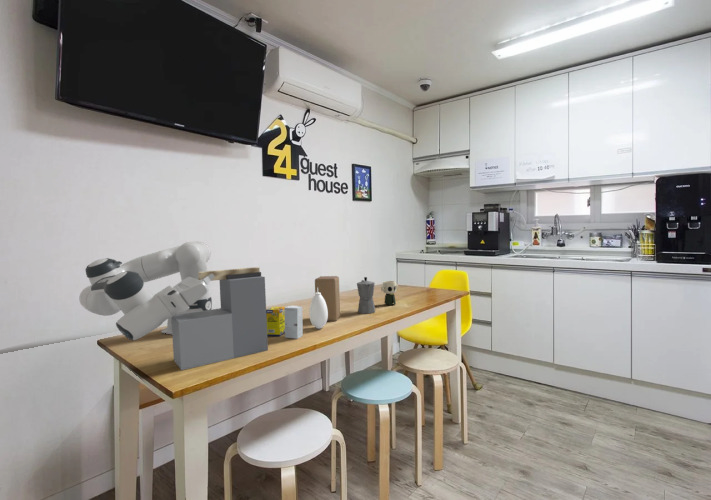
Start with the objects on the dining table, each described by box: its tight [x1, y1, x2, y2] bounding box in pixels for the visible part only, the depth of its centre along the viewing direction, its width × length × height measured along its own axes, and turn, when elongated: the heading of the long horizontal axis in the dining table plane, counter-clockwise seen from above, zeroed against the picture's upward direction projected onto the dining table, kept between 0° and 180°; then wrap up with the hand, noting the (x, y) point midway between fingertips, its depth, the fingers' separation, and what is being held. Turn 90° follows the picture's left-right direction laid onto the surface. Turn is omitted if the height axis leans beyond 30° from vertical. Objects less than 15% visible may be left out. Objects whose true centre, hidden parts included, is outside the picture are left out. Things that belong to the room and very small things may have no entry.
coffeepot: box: [356, 276, 376, 315], centre depth 184 cm, size 15×9×18 cm, turn 12°
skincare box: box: [284, 305, 304, 340], centre depth 142 cm, size 6×4×12 cm
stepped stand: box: [171, 271, 269, 371], centre depth 122 cm, size 28×12×28 cm, turn 127°
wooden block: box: [314, 275, 341, 322], centre depth 170 cm, size 10×10×20 cm
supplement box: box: [266, 306, 286, 337], centre depth 146 cm, size 6×6×11 cm
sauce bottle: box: [308, 287, 328, 330], centre depth 154 cm, size 8×8×18 cm
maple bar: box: [198, 266, 261, 282], centre depth 124 cm, size 20×3×3 cm, turn 127°
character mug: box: [380, 280, 399, 306], centre depth 200 cm, size 11×7×13 cm, turn 117°
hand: (211, 274), depth 120 cm, fingers closed on maple bar, 3 cm apart
